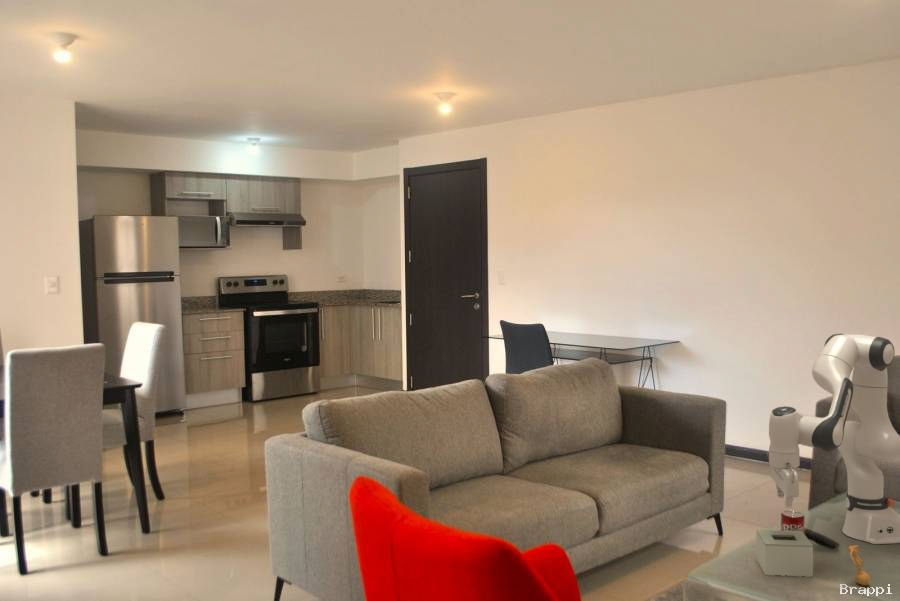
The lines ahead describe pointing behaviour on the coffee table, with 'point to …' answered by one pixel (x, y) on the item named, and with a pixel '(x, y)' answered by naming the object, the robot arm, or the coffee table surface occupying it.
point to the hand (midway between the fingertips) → (784, 501)
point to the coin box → (784, 553)
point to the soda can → (792, 521)
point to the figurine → (861, 576)
